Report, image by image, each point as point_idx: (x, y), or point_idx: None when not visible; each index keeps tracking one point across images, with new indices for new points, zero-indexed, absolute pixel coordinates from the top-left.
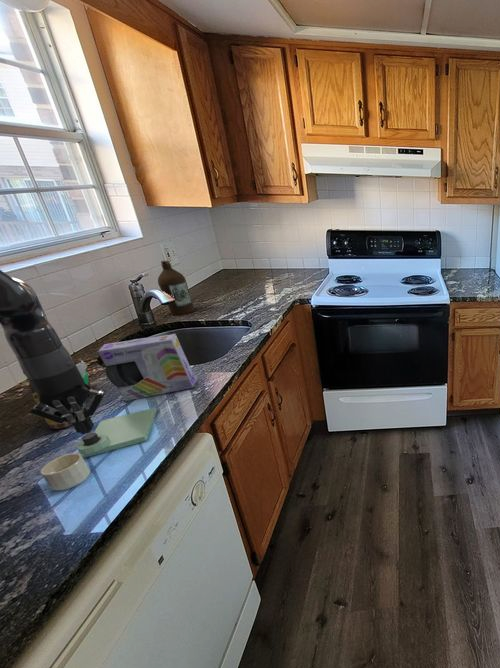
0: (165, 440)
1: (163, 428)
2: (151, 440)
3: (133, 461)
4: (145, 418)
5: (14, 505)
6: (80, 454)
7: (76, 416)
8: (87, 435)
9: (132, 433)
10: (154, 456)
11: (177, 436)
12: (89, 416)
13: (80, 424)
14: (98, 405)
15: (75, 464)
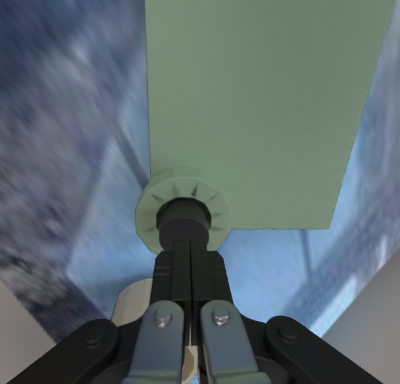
0: (365, 243)
1: (374, 169)
2: (332, 223)
3: (285, 294)
4: (348, 86)
5: (57, 330)
6: (192, 346)
7: (183, 356)
8: (177, 233)
9: (296, 188)
10: (330, 297)
11: (396, 240)
12: (233, 303)
13: (190, 324)
14: (338, 366)
15: (191, 377)
